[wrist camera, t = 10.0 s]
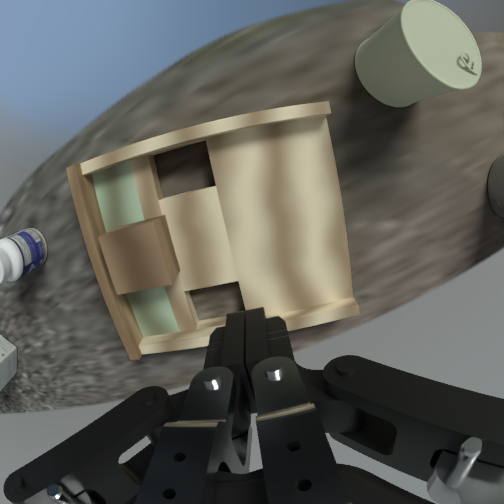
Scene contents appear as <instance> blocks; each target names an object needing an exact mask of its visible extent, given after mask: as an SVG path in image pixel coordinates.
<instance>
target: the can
mask: <svg viewBox="0 0 504 504" xmlns="http://www.w3.org/2000/svg"><path fill="white" fill-rule="evenodd" d="M481 66H482V64H481V56H480V52H479V49H478V46H477V43H476V41H475V39H474V37H473V35H472V34H471V32H470V31H469V29H468V28H467V26H466V25H465V24H464V23H463V21H462V20H461V19H460V18H459V17H458V16H456V14H455V13H453V12H452V11H451V10H450V9H448V8H447V7H445V6H443V5H442V4H440V3H438V2H435V1H432V0H411V1H409V2H408V3H406V4H405V5H404V7H403V8H402V9H401V10H400V11H399V12H398V13H397V14H396V15H394V16H393V17H392V18H391V19H390V20H389V21H388V22H387V23H386V24H385V25H383V26H382V27H381V28H380V29H379V30H378V31H377V32H376V33H375V34H373V35H372V36H371V37H370V38H369V39H367V40H365V41H364V42H362V43H361V45H360V46H359V47H358V49H357V51H356V55H355V68H356V72H357V75H358V77H359V80H360V81H361V83H362V85H363V86H364V88H365V89H366V90H367V91H368V92H369V93H370V94H371V95H372V96H373V97H374V98H376V99H377V100H378V101H380V102H382V103H384V104H386V105H389V106H392V107H406V106H409V105H411V104H413V103H415V102H418V101H421V100H424V99H427V98H431V97H434V96H438V95H442V94H446V93H450V92H454V91H458V90H467V89H469V88H471V87H473V86H474V85H475V84H476V83H477V82H478V80H479V78H480V75H481Z"/></svg>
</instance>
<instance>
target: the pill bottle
mask: <svg viewBox="0 0 504 504" xmlns="http://www.w3.org/2000/svg"><path fill="white" fill-rule="evenodd" d="M46 256H47V245H46V241H45V239H44V237H43V235H42V234H41V233H40V232H39V231H38V230H36V229H34V228H28V229H25V230H23V231H20V232H18V233H16V234H13V235H11V236H8V237H6V238H3V239H1V240H0V284H1V283H3V282H5V281H6V280H7V281H16V280H18V279H19V278H21V277H22V276H24V275H26V274H27V273H29V272H30V271H32V270H34V269H35V268H37V267H39V266H40V265H42V264H43V263H44V261H45V259H46Z"/></svg>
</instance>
